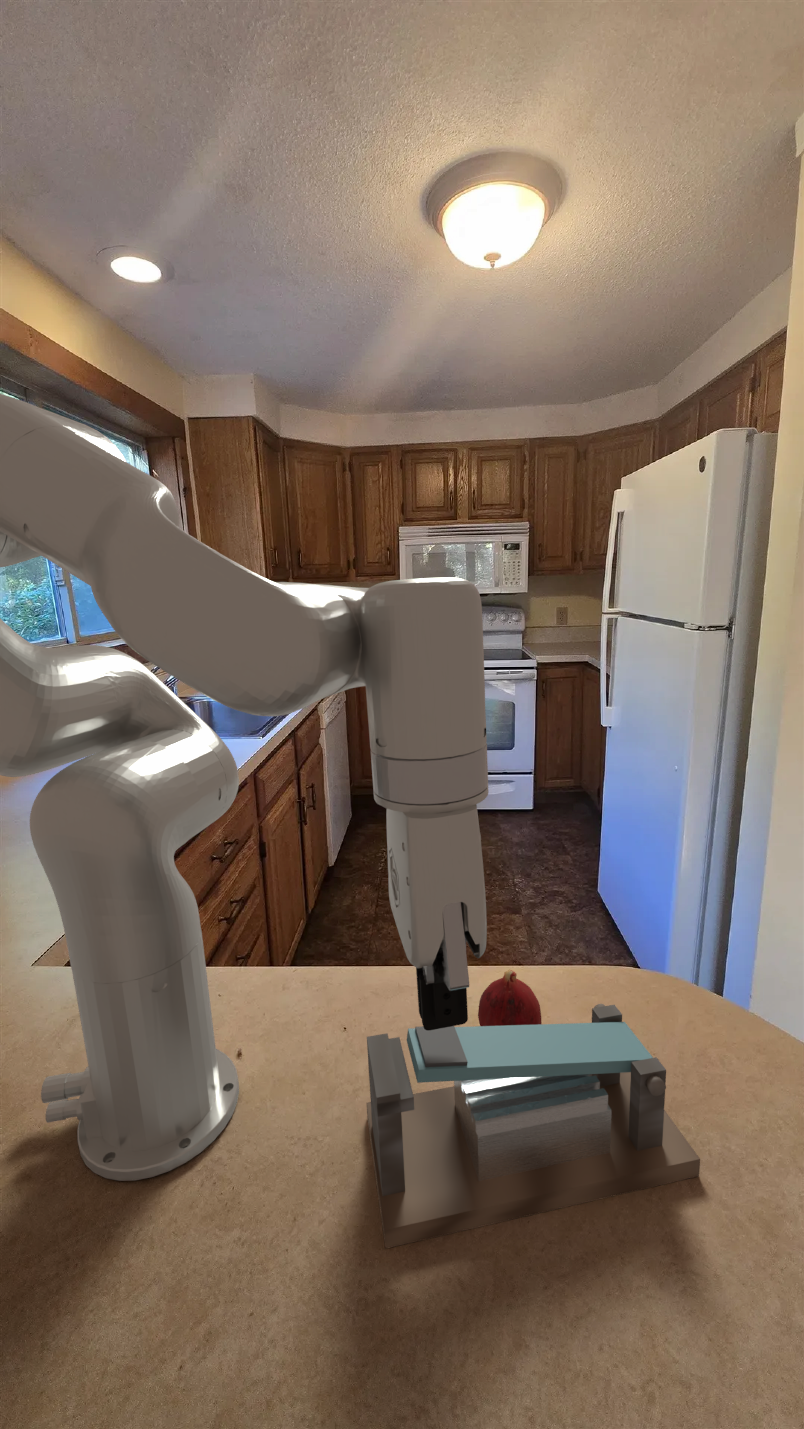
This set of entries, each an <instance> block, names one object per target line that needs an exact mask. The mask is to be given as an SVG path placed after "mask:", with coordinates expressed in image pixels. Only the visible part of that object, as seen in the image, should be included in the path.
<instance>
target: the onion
mask: <svg viewBox="0 0 804 1429" xmlns="http://www.w3.org/2000/svg"><path fill="white" fill-rule="evenodd" d="M517 974H518V973H517V972H516V971H514V970H512V969H508V970H507V971H504V974H503V976H502V978H501V977H500V978H499V979H496V980H494V981H492V982H490V984H489V985H488V986H487V987H486V988H485V989H484V991H483V992H482V994H481V995H480V999H479V1001H478V1003H479V1005H478V1011H477V1012H478V1013H477V1017H478V1018H477V1019H478V1023H479V1026H506V1025H538V1024H543V1023H542V1012H541V1011H542V1010H541V1006H540V1002H539V1000H538V998H537V996H536V994H535V993H534V991H533V990H532V988H531V987H530V986H529V985H527V984H526V983H525V982H524V981H522V980H520V979H519V978H517Z"/></svg>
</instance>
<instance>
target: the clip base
mask: <svg viewBox="0 0 804 1429" xmlns="http://www.w3.org/2000/svg"><path fill="white" fill-rule="evenodd" d="M603 1022H623V1013H622V1012H621V1011H620V1010H619V1009H618V1007H617V1005H616V1004H610V1005H606V1004H604V1003H597V1004H596V1005H594V1007H593V1008H591V1023H603ZM400 1038H401V1037H400V1036H398V1037H396V1036H395V1037H391V1038H389V1033H388V1032H386V1033H382V1034H375V1035H369V1036H368V1035H367V1036H366V1047H367V1062H368V1064H367V1065H368V1081H369V1091H370V1092H369V1093H370V1094H369V1096H370V1101H369V1102H366V1114H367V1116H366V1118H367V1125H368V1126H367V1127H368V1132H369V1139H370V1148H371V1153H372V1160H373V1169H374V1175H375V1176H374V1177H375V1183H376V1190H377V1196H378V1205H379V1211H380V1219H381V1226H382V1234H383V1240H384V1246H385V1249H388V1248H389V1249H390V1248H394V1247H397V1246H403V1245H407V1244H410V1243H414V1242H421V1241H424V1240H429V1239H432V1238H436V1237H437V1238H438V1237H441V1236H446V1235H448V1234H449V1235H450V1234H455V1233H458V1232H462V1231H467V1230H471V1229H475V1228H476V1229H477V1228H480V1227H485V1226H488V1225H489V1226H490V1225H493V1224H497V1223H502V1222H506V1221H511V1220H515V1219H519V1218H523V1217H528V1216H533V1215H536V1214H541V1213H545V1212H550V1211H553V1210H558V1209H563V1208H566V1207H571V1206H576V1205H579V1204H584V1203H587V1202H589V1203H590V1202H593V1201H596V1200H597V1201H598V1200H602V1199H606V1198H610V1197H613V1196H614V1197H615V1196H619V1195H623V1194H628V1193H632V1192H635V1191H641V1190H644V1189H649V1188H654V1187H657V1186H662V1185H667V1184H670V1183H674V1182H679V1181H683V1180H688V1179H693V1178H696V1177H700V1166H701V1158H700V1157H699V1155H698V1154H697V1153H696V1151H695V1150H694V1148H693V1147H692V1146H691V1144H690V1143H689V1142H688V1140H687V1139H686V1138H685V1136H684V1134H683V1133H682V1132H681V1130H680V1129H679V1127H678V1126H677V1125H676V1123H675V1122H674V1121H673V1120H672V1118H671V1116H670V1115H669V1114H668V1113H667V1111H666V1110H665V1100H666V1089H667V1086H666V1083H667V1082H666V1081H667V1080H666V1079H667V1069H666V1067H665V1066H664V1065H663V1064H662V1062H661V1061H660V1060H659V1059H658V1058H657V1056H654V1057H653V1058H649V1059H644V1060H639V1061H634V1062H631V1072H624V1073H604V1074H592V1076H594V1075H596V1076H597V1078H598V1080H599V1081H600V1089H602V1088H604V1089H605V1091H606V1092H607V1094H608V1105H609V1107H610V1108H611V1140H610V1153H606V1154H602V1155H597V1156H593V1157H588V1158H583V1159H579V1160H574V1161H570V1162H565V1163H560V1164H556V1165H551V1166H547V1167H542V1168H537V1169H533V1170H528V1171H524V1172H519V1173H514V1174H510V1175H505V1176H501V1177H496V1178H491V1179H487V1180H482V1181H479V1180H478V1177H477V1174H476V1171H475V1167H474V1164H473V1161H472V1158H471V1155H470V1152H469V1148H468V1145H467V1142H466V1139H465V1136H464V1133H463V1130H462V1126H461V1123H460V1120H459V1117H458V1114H457V1111H456V1107H455V1095H454V1086H449V1087H444V1088H438V1089H432V1090H427V1091H422V1092H417V1093H413V1089H412V1084H411V1083H412V1082H411V1080H410V1076H409V1072H408V1071H409V1070H408V1069H407V1068H408V1067H407V1062H406V1058H405V1055H404V1050H403V1045H402V1042H401V1039H400Z"/></svg>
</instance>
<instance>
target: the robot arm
mask: <svg viewBox="0 0 804 1429" xmlns="http://www.w3.org/2000/svg"><path fill="white" fill-rule="evenodd" d="M176 502H177V501H176V500H175V498H174V495H173V494H172V491H171V490H170V489H169V488H168V487H167V486H166V485H165V484H163V482H161V481H160V480H158V479H157V478H155V477H153V476H152V475H150V474H148V473H146V472H145V471H143V470H142V469H139V468H137V467H135V466H134V465H132V464H130V463H128V462H127V460H126V458H125V456H124V454H123V453H122V452H121V450H119V448H118V447H117V446H116V445H115V444H114V443H113V441H111V440H110V439H109V437H107V436H106V435H104V434H103V433H102V432H100V431H98V430H97V429H95V428H93V427H91V426H89V425H87V424H85V423H82V422H79V421H77V420H74V419H71V418H69V417H65V416H63V415H60V414H58V413H55V412H53V411H50V410H47V409H44V408H41V407H39V406H36V405H35V404H31V403H29V402H28V401H27V402H26V401H24V400H22V399H18V398H15V397H12V396H9V395H6V394H2V393H0V568H5V567H10V566H14V565H17V564H20V563H24V562H27V561H29V560H30V561H31V560H32V559H34V558H38V557H40V556H41V557H42V558H45V559H47V560H48V561H50V562H51V563H52V564H55V565H56V566H57V567H59V568H61V569H62V570H64V571H65V572H67V573H69V574H70V575H72V576H74V577H76V578H77V580H80V581H82V582H84V583H85V584H87V585H88V586H89V587H90V589H91V592H92V596H93V598H94V600H95V602H96V604H97V606H98V608H99V609H100V611H101V613H102V614H103V615H104V617H105V619H106V620H107V622H108V623H109V625H110V626H111V628H112V629H113V631H114V632H115V633H116V634H117V635H118V636H119V638H120V639H121V640H122V642H124V643H125V644H126V645H127V646H128V647H129V648H130V649H132V650H133V651H134V652H135V653H137V654H138V655H139V656H141V657H142V658H143V659H145V660H146V661H148V662H149V663H151V664H153V665H154V666H155V667H157V668H158V669H160V670H162V671H163V672H165V673H167V674H169V675H170V676H171V677H173V678H175V679H176V680H179V682H181V683H184V685H187V687H190V688H192V689H193V690H194V691H196V692H198V693H199V694H201V695H203V696H205V697H207V698H209V699H211V700H213V701H215V702H217V703H218V704H221V705H223V706H225V707H227V708H230V709H232V710H235V711H238V712H241V713H245V714H249V715H252V716H259V717H279V716H286V715H289V714H292V713H295V712H298V711H299V710H302V709H305V708H306V707H308V706H310V705H313V704H314V703H316V702H318V701H320V700H322V699H325V698H329V697H331V696H334V695H336V694H340V693H341V692H345V691H347V690H350V689H353V688H360V687H365V693H366V694H365V696H366V697H365V698H366V709H367V721H368V722H367V723H368V734H369V735H368V736H369V749H370V759H371V760H370V762H371V773H372V774H371V776H372V777H371V778H372V788H373V799H374V801H375V803H376V804H377V805H379V806H381V807H383V808H385V809H386V812H385V813H386V818H385V819H386V843H387V846H386V847H387V874H388V898H389V904H390V908H391V912H392V915H393V918H394V921H395V926H396V927H397V932H398V935H399V937H400V941H401V945H402V946H403V949H404V953H405V956H406V958H407V960H408V961H409V963H410V964H411V965H412V966H413V967H415V972H416V973H415V974H416V987H417V1004H418V1005H417V1006H418V1014H419V1017H420V1018H421V1024H422V1026H423V1027H424V1029H425V1030H427V1031H429V1030H435V1029H440V1028H445V1027H451V1026H454V1027H457V1026H461V1025H464V1024H466V1023H467V1022H468V1020H469V1017H468V1011H469V1010H468V992H467V991H468V990H467V989H468V988H470V977H469V976H470V975H469V968H468V958H467V957H468V956H467V945H468V947H469V949H470V951H471V952H472V954H473V956H474V957H475V958H477V959H480V958H481V957H482V956H483V955H484V953H485V951H486V948H487V937H488V936H487V931H488V930H487V928H488V926H487V922H488V921H487V900H486V888H485V886H486V885H485V873H484V872H485V871H484V862H483V852H482V851H483V850H482V841H481V840H482V836H481V832H480V831H481V830H480V825H479V824H480V823H479V816H478V814H479V813H478V806H477V805H478V804H480V803H481V802H483V801H484V800H486V798H488V795H489V772H488V771H489V770H488V769H489V768H488V767H489V766H488V764H489V763H488V743H487V718H486V717H487V716H486V714H487V713H486V687H485V686H486V682H485V681H486V680H485V656H484V653H485V652H484V651H485V650H484V630H483V629H484V626H483V608H482V607H483V605H482V597H481V596H480V592H479V590H478V588H477V587H476V586H475V584H474V583H473V582H471V581H470V580H467V579H465V578H461V577H455V576H454V577H452V576H451V577H450V576H448V577H443V576H442V577H441V576H440V577H424V578H423V577H421V578H409V579H408V578H405V579H398V580H397V579H396V580H395V579H394V580H389V581H388V580H387V581H383V582H379V583H376V584H374V585H372V586H370V587H357V586H356V587H354V586H352V587H351V586H345V585H344V586H343V585H332V584H320V583H319V584H318V583H316V584H315V583H307V582H292V581H291V582H287V581H273V580H270V579H268V578H266V577H265V576H262V575H259V574H258V573H256V572H254V571H252V570H250V569H248V568H247V567H245V566H243V565H241V564H240V563H238V562H236V561H234V559H233V560H232V559H231V558H229V557H227V556H226V555H224V554H222V553H220V552H219V551H217V550H216V549H214V548H211V546H208V545H206V543H204V542H202V541H200V540H198V539H197V538H195V537H194V536H192V535H190V534H189V533H188V532H186V531H185V530H183V529H182V528H181V527H180V514H179V513H180V512H179V508H178V505H177V503H176ZM74 761H75V762H74ZM69 763H71V764H70V765H68V766H65V767H64V768H63V769H61V770H59V771H58V772H57V773H55V775H53V776H52V777H51V778H50V779H49V780H48V781H47V782H46V783H45V784H44V785H43V786H42V787H41V789H40V790H39V792H38V794H37V795H36V796H35V799H34V801H33V803H32V806H31V810H30V816H29V832H30V837H31V841H32V845H33V848H34V850H35V853H36V855H37V858H38V860H39V862H40V864H41V866H42V868H43V870H44V873H45V875H46V877H47V880H48V881H49V885H50V886H51V890H52V891H53V892H52V893H53V895H54V897H55V901H56V904H57V906H58V909H59V914H60V915H59V916H60V917H61V922H62V926H63V929H64V931H63V932H64V936H65V941H66V947H67V951H68V957H69V962H70V968H71V973H72V978H73V984H74V989H75V995H76V996H75V997H76V1001H77V1007H78V1013H79V1019H80V1026H81V1030H82V1036H83V1042H84V1048H85V1053H86V1059H87V1065H88V1066H86V1068H85V1069H84V1071H82V1072H75V1073H72V1072H67V1073H61V1074H55V1075H54V1074H53V1075H50V1076H47V1077H45V1078H44V1080H43V1082H42V1085H41V1092H40V1099H41V1102H42V1103H43V1104H48V1105H47V1106H46V1108H45V1109H46V1110H45V1121H46V1123H54V1122H58V1121H59V1122H60V1121H65V1120H66V1119H71V1118H77V1120H78V1121H79V1122H78V1125H77V1144H78V1150H79V1155H80V1157H81V1159H82V1162H84V1164H85V1166H86V1167H87V1168H89V1169H90V1170H91V1172H92V1173H94V1174H96V1175H99V1176H101V1177H103V1178H105V1179H108V1180H113V1181H119V1182H122V1181H124V1182H125V1181H139V1180H143V1179H144V1180H145V1179H148V1178H153V1177H156V1176H159V1175H162V1174H164V1173H167V1172H170V1171H172V1170H175V1169H176V1168H178V1167H180V1166H182V1165H184V1164H185V1163H187V1162H188V1161H190V1160H193V1158H195V1157H196V1156H197V1155H199V1154H201V1153H202V1152H203V1151H204V1150H205V1149H206V1148H207V1147H209V1145H211V1144H212V1143H213V1142H214V1141H215V1140H216V1138H217V1137H218V1136H220V1134H221V1133H222V1131H223V1130H224V1129H225V1128H226V1126H227V1124H228V1123H229V1121H230V1120H231V1118H232V1116H233V1114H234V1112H235V1109H236V1107H237V1105H238V1100H239V1094H240V1086H239V1085H240V1084H239V1076H238V1070H237V1068H236V1065H235V1063H234V1062H233V1060H232V1059H231V1058H230V1057H229V1056H228V1055H227V1054H226V1053H224V1052H223V1051H221V1050H220V1049H218V1048H217V1047H216V1039H215V1038H216V1037H215V1032H214V1024H213V1023H214V1022H213V1015H212V1007H211V998H210V991H209V982H208V981H209V980H208V972H207V965H206V957H205V948H204V941H203V939H204V938H203V931H202V928H201V918H200V914H199V912H200V911H199V907H198V904H197V900H196V897H195V894H194V892H193V890H192V889H191V886H190V885H189V884H188V882H187V881H186V879H185V878H184V877H183V876H182V874H181V873H180V872H179V870H178V868H177V866H176V863H175V857H174V856H175V853H176V851H177V850H178V849H180V848H181V847H182V846H184V845H185V844H186V843H187V842H188V841H189V840H191V839H192V838H193V837H195V836H197V835H198V834H199V833H201V832H202V831H203V830H205V829H206V828H207V827H209V826H210V825H211V824H213V823H215V822H216V821H217V820H218V819H220V818H221V817H222V816H223V815H224V814H225V813H227V811H228V810H229V809H230V808H231V806H232V805H233V802H234V801H235V799H236V797H237V794H238V791H239V787H240V786H239V784H240V779H239V770H238V766H237V763H236V760H235V758H234V756H233V754H232V752H231V750H230V749H229V747H228V746H227V744H226V743H225V742H224V740H223V739H222V738H221V737H220V735H219V734H218V733H216V731H214V729H212V727H210V726H209V725H208V724H207V723H206V721H204V720H203V719H202V718H201V717H200V716H199V715H198V714H197V713H196V712H194V710H192V709H191V708H190V707H189V705H187V704H186V703H185V702H184V701H183V700H182V699H181V698H180V697H178V695H177V694H175V692H174V691H172V690H171V689H170V687H168V686H167V685H166V684H165V683H164V682H163V681H162V680H160V678H159V677H158V676H157V675H156V674H154V673H153V672H152V671H151V670H150V669H149V668H148V667H147V666H145V665H144V664H143V663H142V662H141V661H139V660H138V659H136V658H134V657H133V656H131V655H129V654H127V653H125V652H123V651H121V650H118V649H116V648H112V647H109V646H104V645H97V644H94V645H93V644H90V645H89V644H84V645H73V646H72V645H71V646H62V647H61V646H60V647H45V646H40V645H36V644H33V643H31V642H30V641H28V639H27V640H26V639H24V637H22V636H21V635H20V634H18V633H17V631H15V630H14V629H12V628H11V627H10V626H9V625H8V624H7V623H5V621H3V619H2V618H0V776H3V777H8V778H19V777H20V778H21V777H26V776H31V775H35V774H39V773H42V772H46V771H49V770H52V769H54V768H57V767H60V766H64V765H66V764H69ZM74 1097H79V1098H74ZM69 1098H74V1099H69Z"/></svg>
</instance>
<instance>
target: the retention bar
mask: <svg viewBox="0 0 804 1429" xmlns="http://www.w3.org/2000/svg"><path fill="white" fill-rule="evenodd" d="M406 1044H407V1047H408V1051H409V1055H410V1058H411V1063H412V1068H413V1071H414V1075H415V1079H416V1082H417V1084H418V1083H435V1082H436V1083H441V1082H454V1081H463V1080H483V1079H503V1078H523V1077H543V1076H563V1075H584V1074H604V1073H624V1072H631V1062H634V1061H639V1060H644V1059H649V1058H654V1057H653V1056H652V1055H651V1053H650V1052H649V1050H648V1049H647V1048H646V1047H645V1046H644V1044H643V1043H642V1041H641V1040H640V1039H639V1038H638V1037H637V1035H636V1034H635V1033H634V1032H633V1030H632V1029H631V1028H630V1026H629V1025H628V1024H627V1023H626V1022H625V1021H622V1022H603V1023H592V1022H578V1023H577V1022H576V1023H544V1024H543V1023H542V1024H538V1025H506V1026H480V1025H479V1026H451V1027H445V1028H440V1029H435V1030H429V1031H427V1030H425V1029H424V1027H423V1025H421V1026H415V1027H414V1028H413V1027H411V1028H410V1027H409V1028H407V1034H406Z"/></svg>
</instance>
